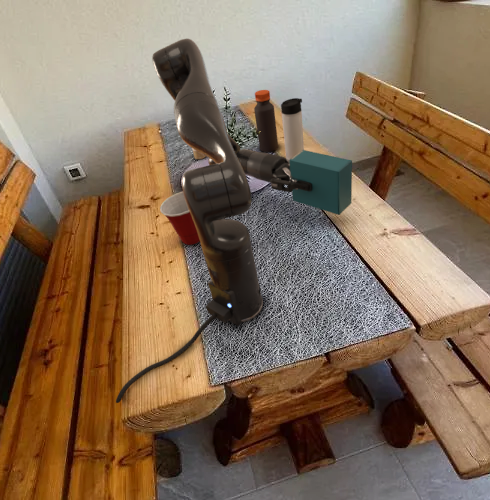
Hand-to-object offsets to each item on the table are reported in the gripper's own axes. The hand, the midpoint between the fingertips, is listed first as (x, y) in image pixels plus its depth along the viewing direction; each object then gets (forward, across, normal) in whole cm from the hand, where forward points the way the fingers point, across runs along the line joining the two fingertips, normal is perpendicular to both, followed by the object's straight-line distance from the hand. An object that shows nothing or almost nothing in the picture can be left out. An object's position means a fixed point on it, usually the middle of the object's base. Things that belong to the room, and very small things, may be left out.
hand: (318, 181), depth 98 cm
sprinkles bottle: (-59, +11, +11) cm, 61 cm away
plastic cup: (-25, -25, +11) cm, 37 cm away
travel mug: (-25, +24, +11) cm, 36 cm away
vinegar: (-39, +27, +11) cm, 49 cm away
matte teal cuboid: (+1, 0, +6) cm, 6 cm away
